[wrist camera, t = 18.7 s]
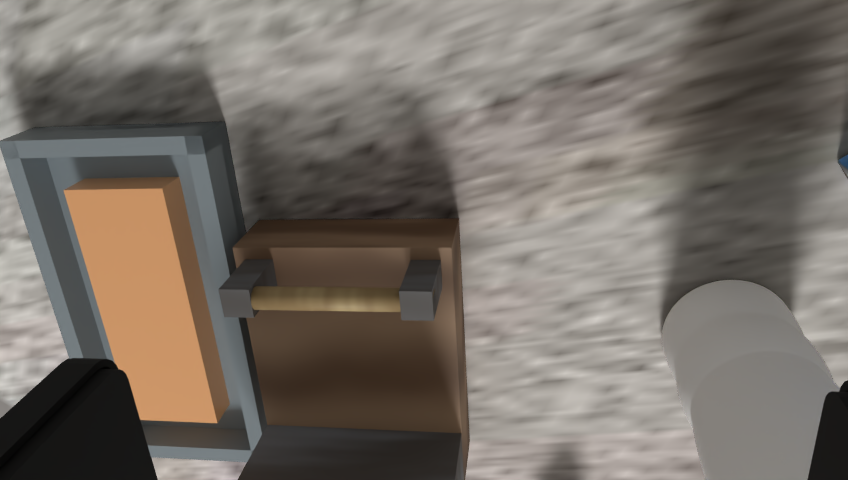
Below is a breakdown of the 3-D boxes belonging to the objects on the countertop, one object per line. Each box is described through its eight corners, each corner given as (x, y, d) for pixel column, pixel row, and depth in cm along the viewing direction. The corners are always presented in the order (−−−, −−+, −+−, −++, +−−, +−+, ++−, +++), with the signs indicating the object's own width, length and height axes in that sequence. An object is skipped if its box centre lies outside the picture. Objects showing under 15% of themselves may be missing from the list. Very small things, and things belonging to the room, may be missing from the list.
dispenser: (259, 219, 40) (135, 349, 28) (458, 218, 38) (423, 356, 26) (296, 433, 47) (210, 617, 34) (469, 441, 45) (445, 639, 32)
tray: (34, 127, 40) (-2, 141, 37) (225, 121, 38) (201, 135, 35) (124, 425, 49) (100, 454, 46) (283, 432, 47) (267, 463, 44)
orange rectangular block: (84, 178, 40) (63, 190, 38) (179, 176, 39) (162, 188, 37) (147, 400, 46) (131, 419, 44) (229, 403, 45) (217, 423, 43)
